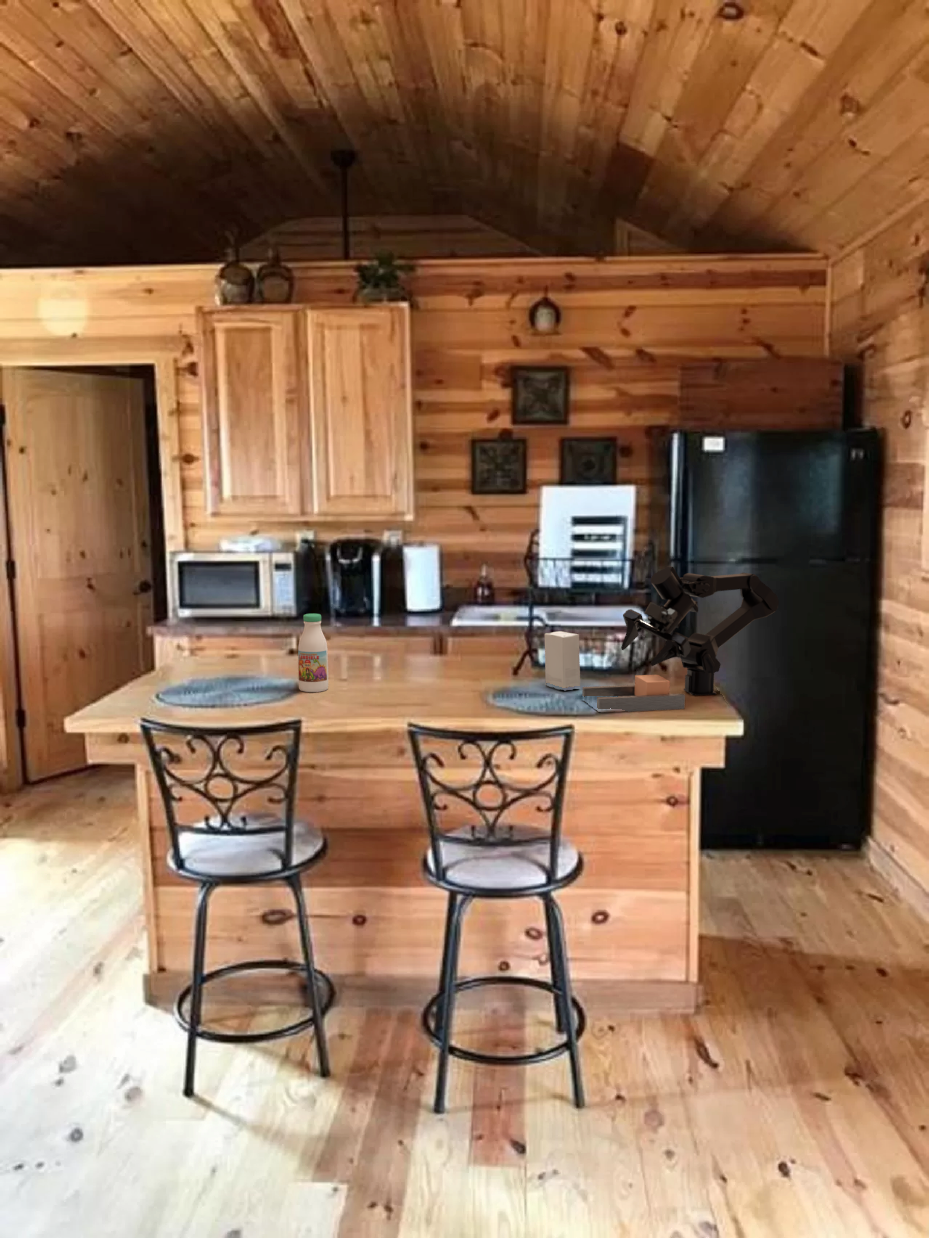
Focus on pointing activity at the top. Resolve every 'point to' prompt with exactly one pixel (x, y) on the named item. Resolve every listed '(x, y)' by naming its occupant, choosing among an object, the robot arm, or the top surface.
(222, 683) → the top surface
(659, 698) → the chute
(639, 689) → the block
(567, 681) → the skincare box
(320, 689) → the milk bottle
